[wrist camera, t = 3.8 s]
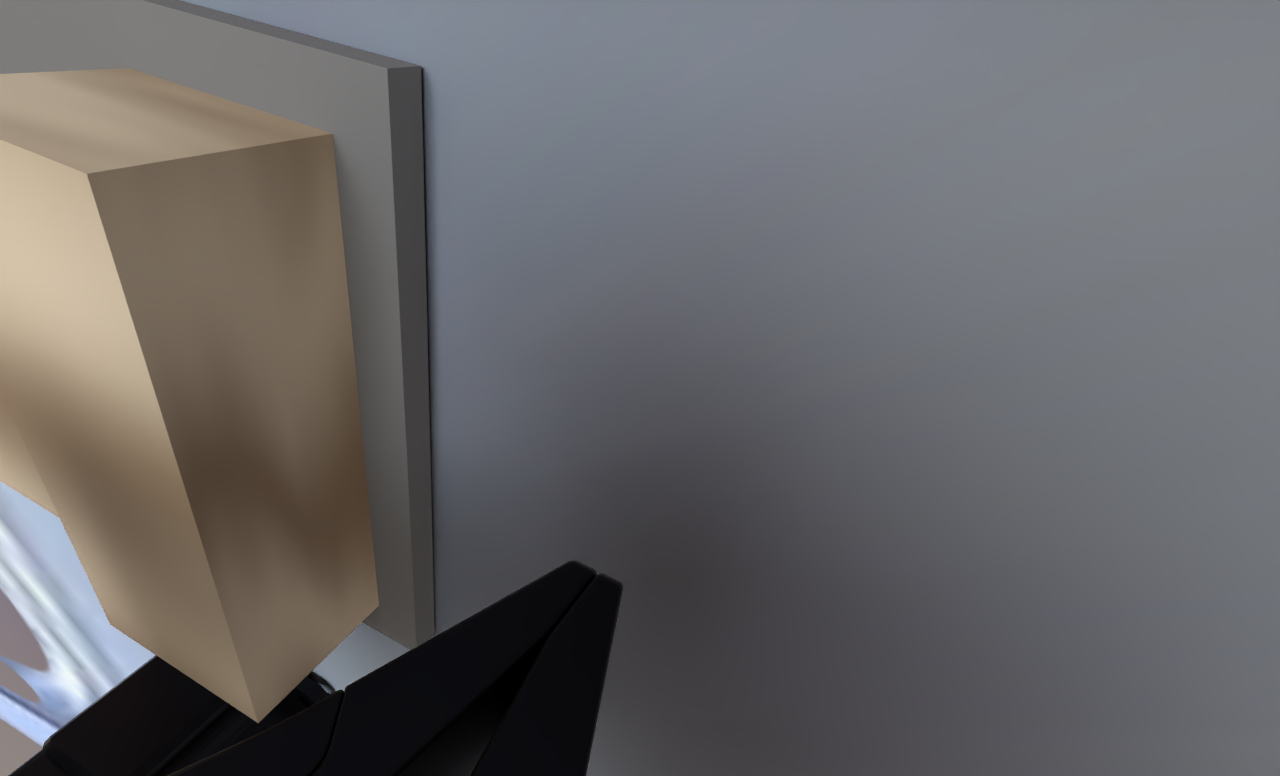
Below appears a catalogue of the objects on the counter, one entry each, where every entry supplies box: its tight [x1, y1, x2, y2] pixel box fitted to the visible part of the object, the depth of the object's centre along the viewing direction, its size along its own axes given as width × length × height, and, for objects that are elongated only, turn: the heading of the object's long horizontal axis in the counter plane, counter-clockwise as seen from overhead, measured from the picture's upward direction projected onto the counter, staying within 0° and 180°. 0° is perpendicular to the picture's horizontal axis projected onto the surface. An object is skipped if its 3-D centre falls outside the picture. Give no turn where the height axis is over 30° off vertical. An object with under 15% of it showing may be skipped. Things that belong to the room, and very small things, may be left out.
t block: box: [0, 68, 379, 723], centre depth 12 cm, size 10×12×3 cm
